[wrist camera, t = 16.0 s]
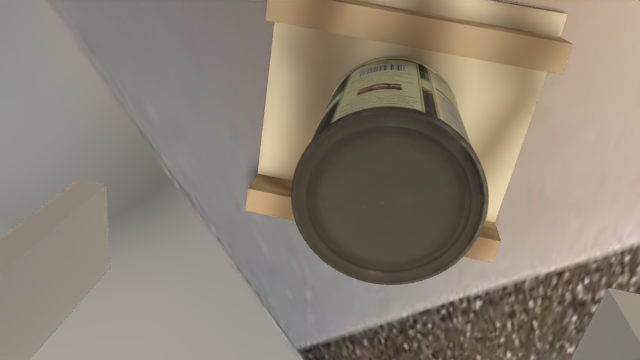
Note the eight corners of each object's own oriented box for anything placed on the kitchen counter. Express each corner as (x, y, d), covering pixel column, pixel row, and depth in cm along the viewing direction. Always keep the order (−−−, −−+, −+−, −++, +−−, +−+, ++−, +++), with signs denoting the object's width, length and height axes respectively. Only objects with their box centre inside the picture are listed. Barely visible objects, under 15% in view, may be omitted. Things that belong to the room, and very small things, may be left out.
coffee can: (372, 204, 42) (359, 313, 30) (300, 103, 40) (252, 175, 27) (486, 141, 39) (526, 235, 26) (415, 26, 36) (421, 67, 23)
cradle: (256, 205, 45) (244, 226, 42) (283, -37, 36) (271, -35, 33) (480, 252, 44) (487, 278, 40) (564, 13, 35) (582, 20, 32)
